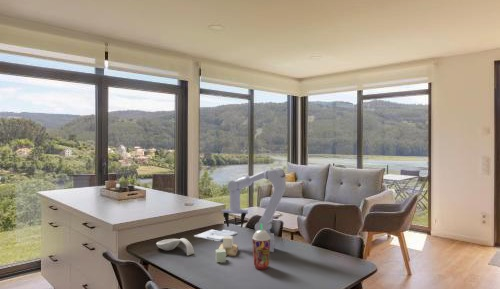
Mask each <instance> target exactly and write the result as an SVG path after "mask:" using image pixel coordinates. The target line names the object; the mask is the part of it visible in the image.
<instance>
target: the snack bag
mask: <svg viewBox="0 0 500 289" xmlns="http://www.w3.org/2000/svg"><path fill="white" fill-rule="evenodd" d="M237 234H238V232H237V231H232V230H228V229H222V230H218V229H217V230H215V229H209V230H206V231H203V232H201V233H198V234H194V235H193V237H194V238H199V239H205V240H209V241H213V240H214V241H213V242H218V241H219V242H223V238H224V236H233V237H234V236H236V235H237Z"/></svg>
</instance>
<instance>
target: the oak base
mask: <svg viewBox="0 0 500 289" xmlns="http://www.w3.org/2000/svg"><path fill="white" fill-rule="evenodd" d="M218 249H225V251H226V256H227V255H229V256H233V257H235V256H236V257H237V254H238V250H239V245H238V243H237V244H236V243H233V247H232V248H223V243H221V244H220V245H219V247H218ZM229 256H228V257H229Z"/></svg>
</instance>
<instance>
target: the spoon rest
mask: <svg viewBox="0 0 500 289" xmlns="http://www.w3.org/2000/svg"><path fill="white" fill-rule="evenodd" d="M180 243H183V244H184V246H185V250H186V256H191V255H194V254H195V249H194V247H193V245H192V243H191V242H190V241H189V240H188V239H187V238H185V237H182V238H180V239H179V238H168V239H167V238H166V239H163V240H158V241H157V242H156V243H155V244H156V247H158V248H159V249H161V250H163V251H172V250H174V249H176V247H178V245H180Z"/></svg>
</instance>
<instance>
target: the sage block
mask: <svg viewBox="0 0 500 289" xmlns="http://www.w3.org/2000/svg"><path fill="white" fill-rule="evenodd" d="M215 262H220V263H226V262H227V255H226V251H225V249H219V248H218V249H215Z"/></svg>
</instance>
